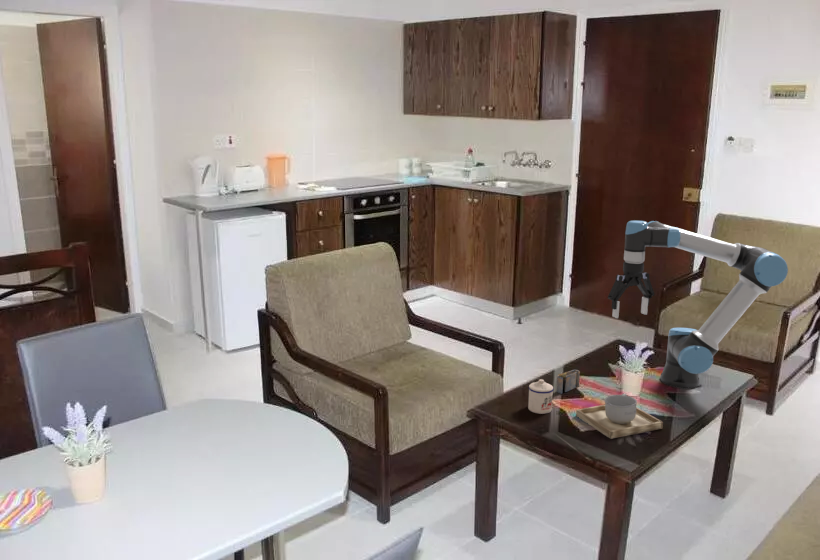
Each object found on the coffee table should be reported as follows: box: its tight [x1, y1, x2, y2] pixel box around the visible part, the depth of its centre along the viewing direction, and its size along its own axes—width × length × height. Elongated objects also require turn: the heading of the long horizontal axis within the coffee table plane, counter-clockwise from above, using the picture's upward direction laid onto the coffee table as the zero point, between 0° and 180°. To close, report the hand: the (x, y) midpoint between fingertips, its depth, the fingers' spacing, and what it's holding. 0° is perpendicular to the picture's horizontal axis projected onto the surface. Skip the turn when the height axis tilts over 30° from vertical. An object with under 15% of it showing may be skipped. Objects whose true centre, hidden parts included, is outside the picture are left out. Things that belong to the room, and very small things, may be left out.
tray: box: [575, 404, 664, 440], centre depth 247 cm, size 22×20×2 cm
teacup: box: [604, 393, 638, 424], centre depth 246 cm, size 14×11×8 cm
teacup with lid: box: [527, 378, 554, 415], centre depth 258 cm, size 12×9×12 cm
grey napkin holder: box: [556, 369, 581, 395], centre depth 275 cm, size 11×3×10 cm, turn 131°
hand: (629, 315), depth 267 cm, fingers open, 13 cm apart
